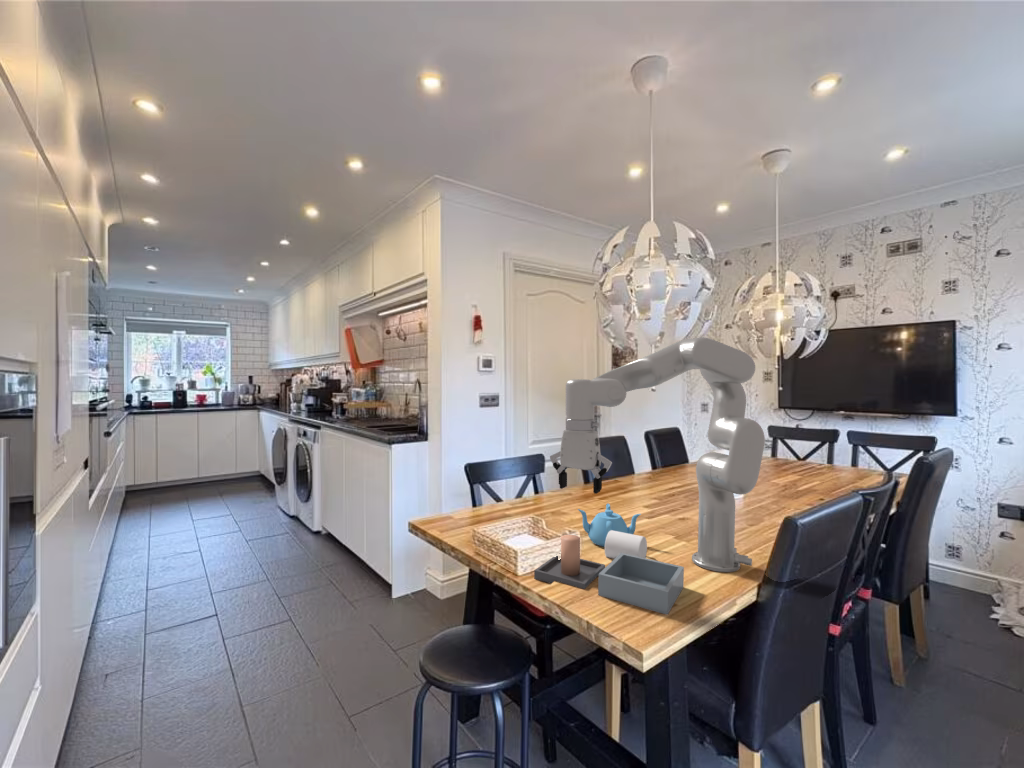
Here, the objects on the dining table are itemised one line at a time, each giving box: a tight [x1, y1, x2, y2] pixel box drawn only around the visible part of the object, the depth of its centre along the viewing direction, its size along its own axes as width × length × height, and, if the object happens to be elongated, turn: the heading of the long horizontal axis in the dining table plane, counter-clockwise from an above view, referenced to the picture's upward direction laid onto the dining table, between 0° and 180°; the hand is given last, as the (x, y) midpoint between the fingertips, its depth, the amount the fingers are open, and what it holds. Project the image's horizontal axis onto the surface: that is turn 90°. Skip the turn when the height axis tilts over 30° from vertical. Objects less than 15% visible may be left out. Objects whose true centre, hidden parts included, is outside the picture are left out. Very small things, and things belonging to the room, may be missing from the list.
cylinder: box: [560, 534, 581, 576], centre depth 120 cm, size 5×5×9 cm
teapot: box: [577, 503, 642, 548], centre depth 146 cm, size 15×15×10 cm
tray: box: [533, 556, 606, 590], centre depth 120 cm, size 14×14×2 cm
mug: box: [604, 530, 648, 560], centre depth 132 cm, size 12×10×8 cm
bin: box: [597, 553, 685, 615], centre depth 110 cm, size 16×16×6 cm
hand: (579, 490), depth 121 cm, fingers open, 9 cm apart
